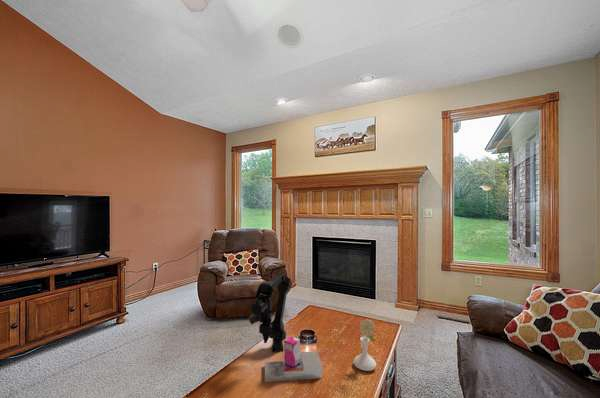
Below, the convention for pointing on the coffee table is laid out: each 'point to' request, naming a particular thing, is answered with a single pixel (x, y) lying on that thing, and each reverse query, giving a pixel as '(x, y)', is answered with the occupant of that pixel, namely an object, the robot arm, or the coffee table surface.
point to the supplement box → (292, 351)
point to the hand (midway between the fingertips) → (265, 338)
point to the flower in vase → (365, 347)
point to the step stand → (295, 368)
